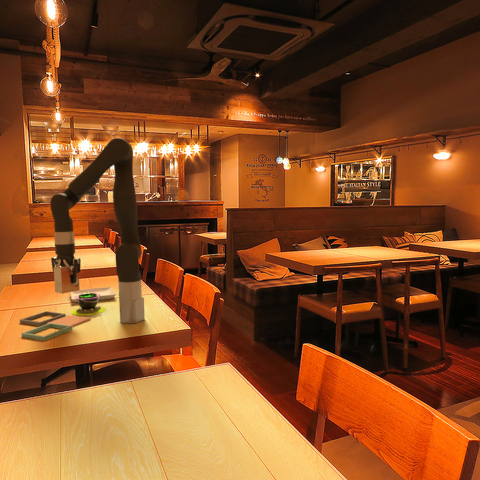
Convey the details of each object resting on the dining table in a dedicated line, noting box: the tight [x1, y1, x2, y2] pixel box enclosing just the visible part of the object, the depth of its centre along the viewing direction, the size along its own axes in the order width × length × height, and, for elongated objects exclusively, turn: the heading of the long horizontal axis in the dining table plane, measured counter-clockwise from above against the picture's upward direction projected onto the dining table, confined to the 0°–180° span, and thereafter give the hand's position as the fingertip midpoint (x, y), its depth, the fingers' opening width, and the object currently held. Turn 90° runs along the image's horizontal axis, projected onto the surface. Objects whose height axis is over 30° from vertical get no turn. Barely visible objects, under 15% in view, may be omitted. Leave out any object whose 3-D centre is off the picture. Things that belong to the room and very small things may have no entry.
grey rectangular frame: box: [19, 311, 67, 327], centre depth 172 cm, size 11×13×2 cm
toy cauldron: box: [70, 287, 106, 317], centre depth 185 cm, size 15×15×11 cm
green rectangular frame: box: [21, 323, 73, 342], centre depth 154 cm, size 11×13×2 cm
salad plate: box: [69, 286, 117, 303], centre depth 209 cm, size 21×21×3 cm
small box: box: [53, 266, 81, 295], centre depth 166 cm, size 8×6×10 cm
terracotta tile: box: [47, 314, 92, 328], centre depth 168 cm, size 12×12×1 cm
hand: (67, 282), depth 166 cm, fingers closed on small box, 6 cm apart
